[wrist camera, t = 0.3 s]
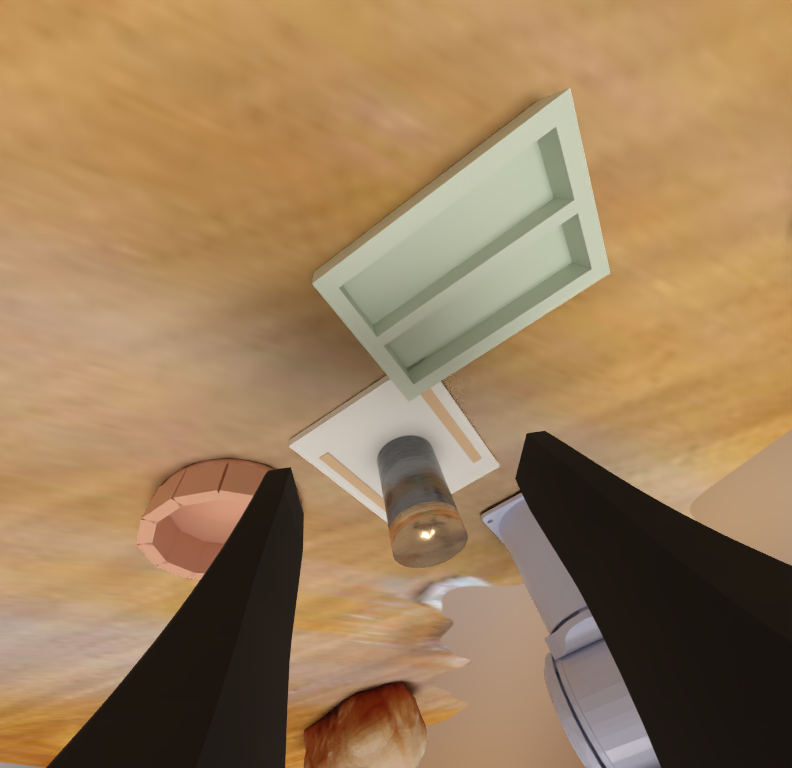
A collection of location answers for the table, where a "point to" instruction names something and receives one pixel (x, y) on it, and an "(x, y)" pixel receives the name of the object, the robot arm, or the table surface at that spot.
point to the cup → (197, 514)
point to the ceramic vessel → (369, 732)
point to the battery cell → (418, 504)
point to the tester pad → (384, 421)
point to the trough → (474, 252)
